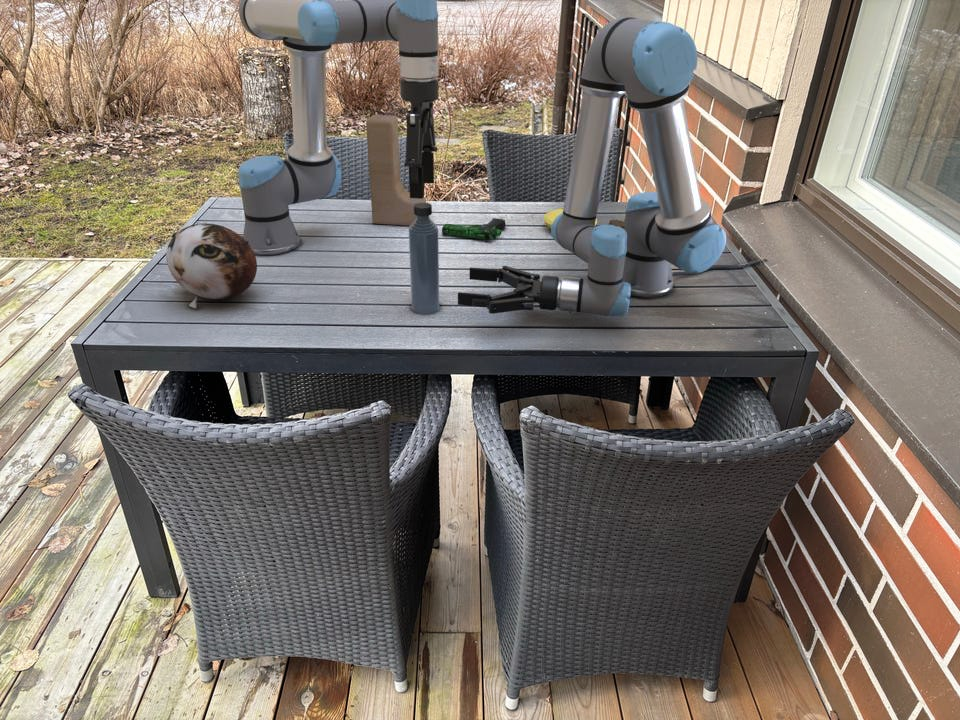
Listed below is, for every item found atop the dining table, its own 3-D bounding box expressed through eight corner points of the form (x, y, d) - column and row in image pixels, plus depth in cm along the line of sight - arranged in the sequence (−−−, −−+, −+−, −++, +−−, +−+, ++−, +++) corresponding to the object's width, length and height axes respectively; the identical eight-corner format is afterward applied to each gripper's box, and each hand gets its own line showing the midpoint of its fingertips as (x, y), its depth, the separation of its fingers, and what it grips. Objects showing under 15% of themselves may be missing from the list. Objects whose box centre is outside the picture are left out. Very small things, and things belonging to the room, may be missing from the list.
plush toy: (130, 285, 161) (164, 203, 163) (192, 308, 177) (221, 233, 178) (195, 307, 151) (229, 220, 152) (254, 330, 166) (285, 250, 168)
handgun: (511, 219, 210) (493, 234, 198) (511, 228, 211) (492, 244, 199) (461, 212, 215) (440, 226, 203) (461, 221, 217) (440, 236, 204)
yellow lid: (559, 216, 220) (561, 193, 217) (605, 227, 212) (608, 204, 209) (532, 230, 209) (533, 207, 206) (580, 242, 201) (582, 218, 198)
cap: (431, 216, 152) (431, 208, 151) (413, 216, 152) (413, 208, 151) (431, 210, 156) (431, 202, 155) (414, 210, 155) (414, 202, 155)
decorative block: (421, 227, 210) (418, 122, 195) (372, 224, 212) (365, 119, 197) (426, 218, 217) (424, 116, 201) (378, 215, 218) (372, 114, 203)
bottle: (439, 313, 163) (437, 212, 151) (411, 314, 163) (407, 212, 150) (439, 301, 168) (437, 202, 156) (412, 301, 168) (408, 202, 156)
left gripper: (413, 68, 150) (417, 174, 161) (385, 87, 131) (391, 205, 142) (448, 70, 149) (449, 175, 160) (425, 89, 130) (428, 208, 141)
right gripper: (552, 335, 149) (452, 325, 152) (561, 285, 170) (474, 278, 173) (554, 303, 145) (452, 293, 148) (564, 256, 166) (474, 249, 169)
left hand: (422, 190), depth 151 cm, fingers open, 10 cm apart
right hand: (463, 285), depth 161 cm, fingers open, 13 cm apart
